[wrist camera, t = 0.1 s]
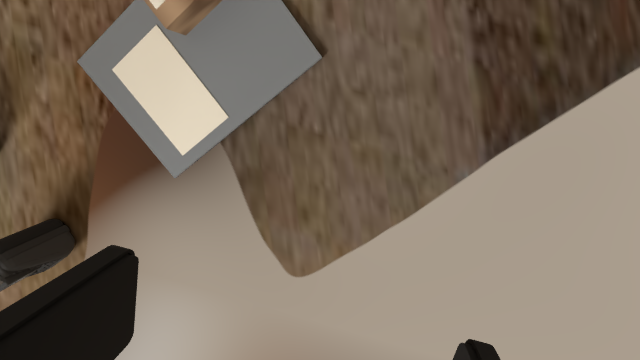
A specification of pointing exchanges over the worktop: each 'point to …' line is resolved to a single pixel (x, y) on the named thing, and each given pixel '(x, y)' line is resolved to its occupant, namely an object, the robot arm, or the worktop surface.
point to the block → (181, 13)
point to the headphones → (33, 251)
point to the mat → (197, 73)
